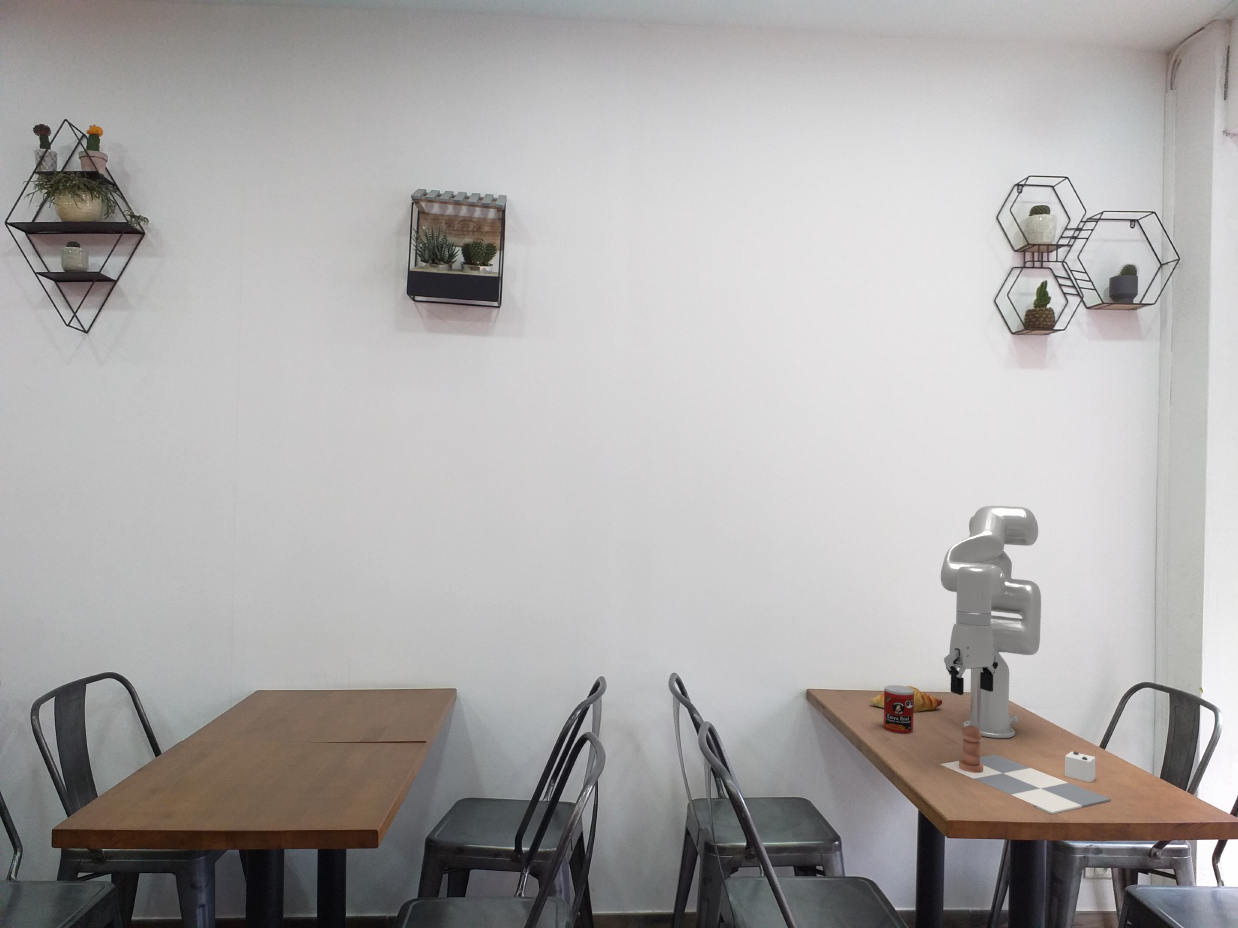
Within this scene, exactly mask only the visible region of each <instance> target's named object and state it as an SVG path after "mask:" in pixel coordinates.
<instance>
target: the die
mask: <svg viewBox="0 0 1238 928" xmlns="http://www.w3.org/2000/svg"><path fill="white" fill-rule="evenodd" d="M1064 777H1068V778H1071V779H1074V780H1078V781H1079V780H1080V781H1082V782H1086V783H1090V782H1091V783H1092V782H1093V781H1094V780H1095V779H1096V756H1092V755H1087V754H1083V753H1079V752H1078V751H1071V750H1070V752H1069V753H1067V754H1065V756H1064Z"/></svg>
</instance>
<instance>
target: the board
mask: <svg viewBox="0 0 1238 928" xmlns="http://www.w3.org/2000/svg"><path fill="white" fill-rule="evenodd" d="M959 761H960V760H956V761H950V762H945V763H940V764H939V765H940V766H943V767H945V768H948V769H950V770H951V771H955V772H957V773H959V774H961V775H964V776H966V777H968V778H971V779H974V780H976V781H978V782H981V783H982V784H984V785H987V786H989V787H992V788H994V789H995V790H998V791H1001V792H1003V793H1005V794H1008V795H1010V796H1013V797H1015V798H1017V799H1020V800H1022V801H1024V802H1025V803H1026V802H1027V803H1029V804H1031V805H1032V806H1033V808H1036V809H1039V810H1041V811H1043V812H1045V813H1048V814H1050V815H1055V814H1059V813H1063V812H1068V811H1073V810H1076V809H1081V808H1085V807H1091V806H1094V805H1098V804H1102V803H1107V802H1112V801H1111V800H1112V799H1111V798H1109V797H1107V796H1104V795H1103V794H1100V793H1096V792H1095V791H1091V790H1089V789H1086V788H1083V787H1081V786H1079V785H1077V784H1073V783H1070V782H1068V781H1065V780H1062V779H1061V778H1058V777H1055V776H1052V775H1050V774H1047V773H1044V772H1042V771H1039V770H1036V769H1034V768H1032V767H1028V766H1026V765H1024V764H1021V763H1019V762H1016V761H1013V760H1011V759H1008V758H1006V757H1003V756H1001V755H998V754H993V755H986V756H980V763H982V764H983V772H981V773H973V772H968V771H964V770H962V769H960V768H959Z"/></svg>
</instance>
